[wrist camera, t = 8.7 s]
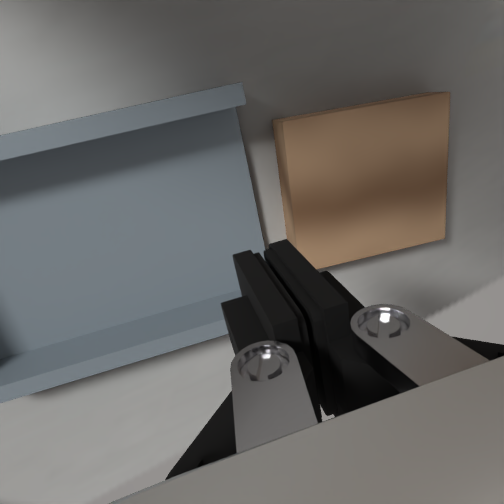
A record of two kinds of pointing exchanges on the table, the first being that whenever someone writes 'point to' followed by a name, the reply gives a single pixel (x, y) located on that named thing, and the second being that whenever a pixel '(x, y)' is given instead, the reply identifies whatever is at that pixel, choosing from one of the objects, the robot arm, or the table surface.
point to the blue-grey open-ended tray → (120, 236)
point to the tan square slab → (364, 177)
